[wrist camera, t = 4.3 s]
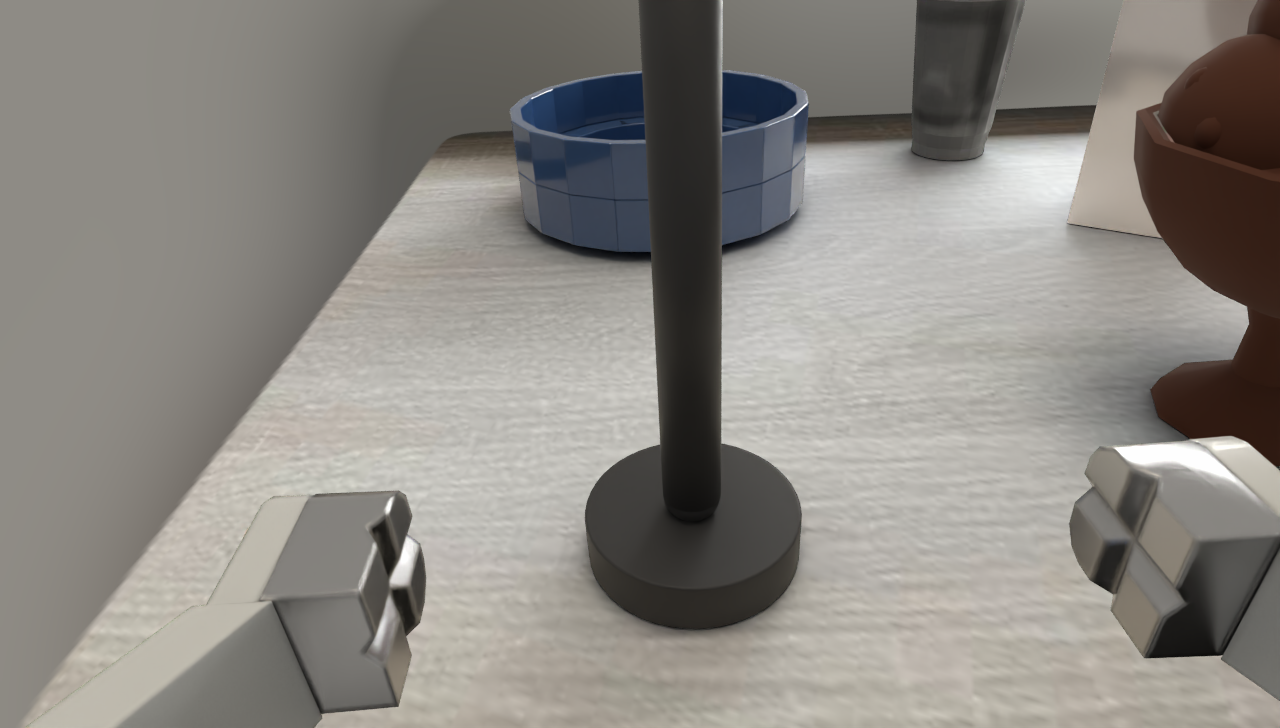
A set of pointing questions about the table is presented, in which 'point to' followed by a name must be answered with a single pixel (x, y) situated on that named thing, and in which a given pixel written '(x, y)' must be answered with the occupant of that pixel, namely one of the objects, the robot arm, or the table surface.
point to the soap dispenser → (1143, 99)
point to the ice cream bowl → (1223, 224)
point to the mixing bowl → (617, 168)
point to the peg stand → (689, 374)
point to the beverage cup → (959, 73)
